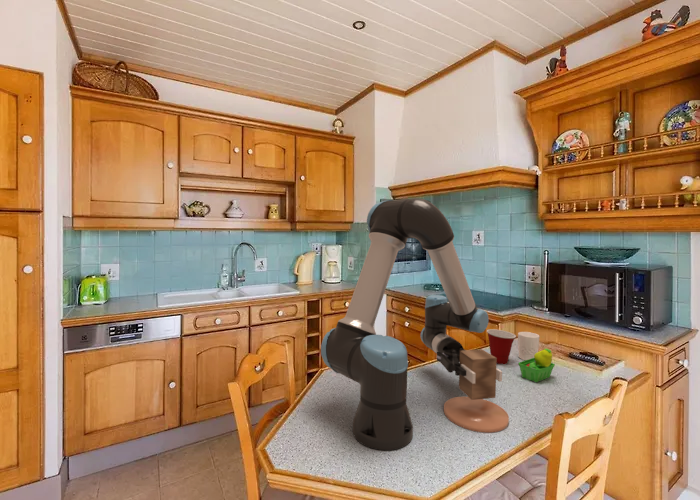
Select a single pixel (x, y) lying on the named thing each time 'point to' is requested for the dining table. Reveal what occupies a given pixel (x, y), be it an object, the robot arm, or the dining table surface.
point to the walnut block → (479, 374)
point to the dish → (476, 414)
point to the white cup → (527, 345)
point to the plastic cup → (500, 344)
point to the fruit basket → (537, 366)
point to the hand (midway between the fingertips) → (487, 377)
